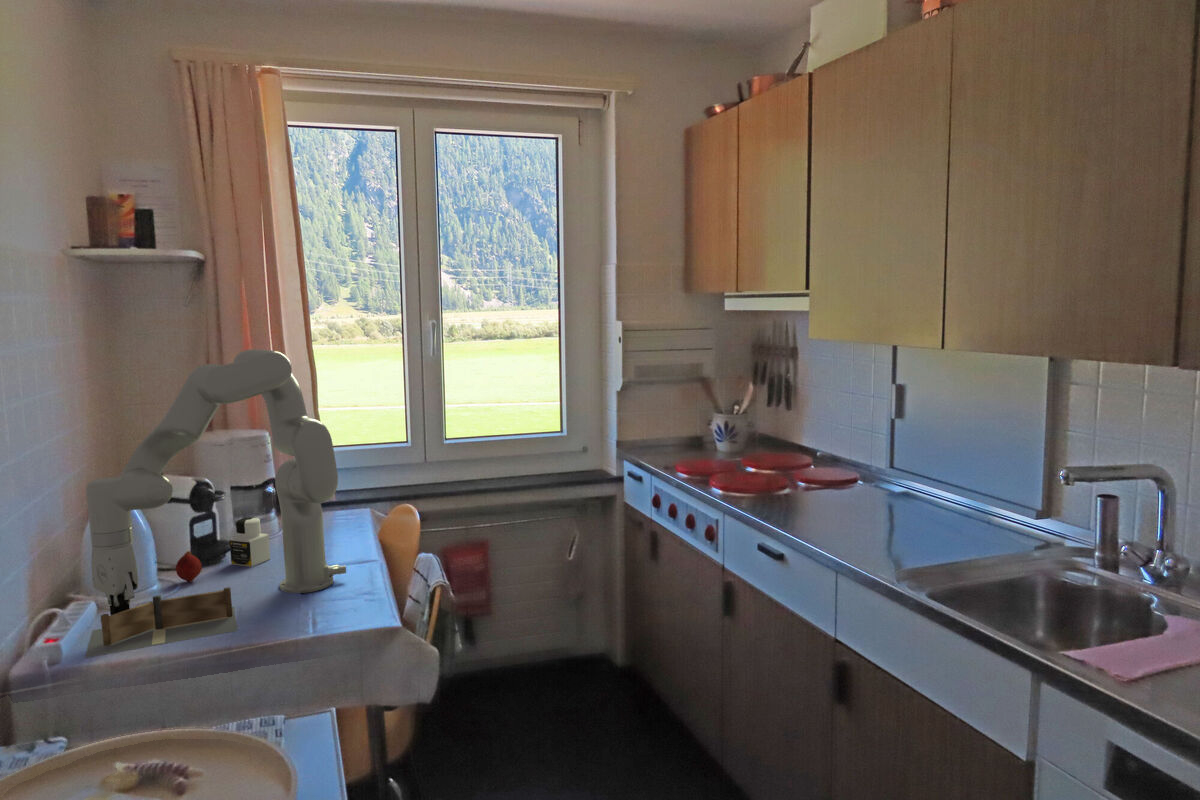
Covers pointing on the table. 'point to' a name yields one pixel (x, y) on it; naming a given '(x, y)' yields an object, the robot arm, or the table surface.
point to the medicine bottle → (249, 543)
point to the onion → (188, 567)
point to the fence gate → (127, 623)
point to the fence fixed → (192, 608)
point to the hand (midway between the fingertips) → (121, 622)
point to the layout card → (161, 636)
